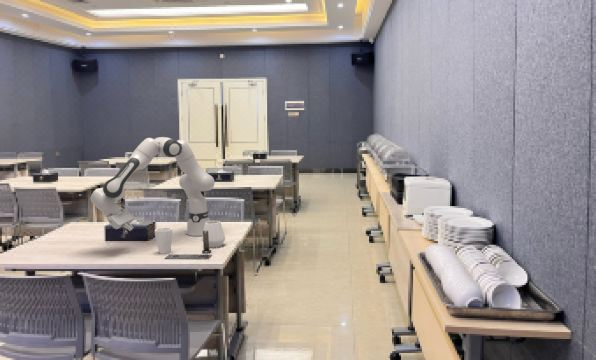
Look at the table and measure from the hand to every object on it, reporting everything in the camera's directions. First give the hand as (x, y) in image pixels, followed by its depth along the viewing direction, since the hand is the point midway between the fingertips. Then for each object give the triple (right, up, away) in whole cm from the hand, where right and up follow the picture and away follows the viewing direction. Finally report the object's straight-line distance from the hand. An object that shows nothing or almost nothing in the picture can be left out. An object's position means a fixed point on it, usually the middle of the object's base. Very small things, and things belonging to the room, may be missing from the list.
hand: (131, 229), depth 293 cm
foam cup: (+19, -13, -1) cm, 23 cm away
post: (+42, -12, -4) cm, 44 cm away
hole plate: (+34, -14, -13) cm, 39 cm away
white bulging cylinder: (+44, -11, +11) cm, 47 cm away
